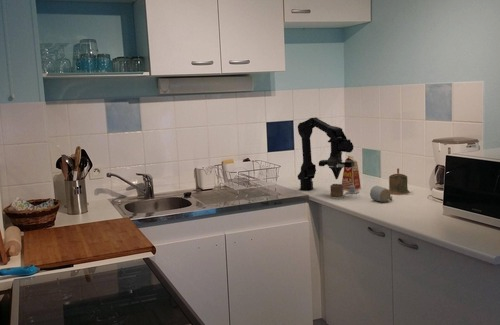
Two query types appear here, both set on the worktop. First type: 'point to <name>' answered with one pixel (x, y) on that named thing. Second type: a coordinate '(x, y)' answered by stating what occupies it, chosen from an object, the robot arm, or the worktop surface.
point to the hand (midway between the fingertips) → (336, 179)
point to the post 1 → (337, 197)
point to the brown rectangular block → (336, 190)
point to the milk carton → (351, 176)
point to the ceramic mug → (380, 194)
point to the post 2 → (352, 190)
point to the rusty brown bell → (398, 184)
